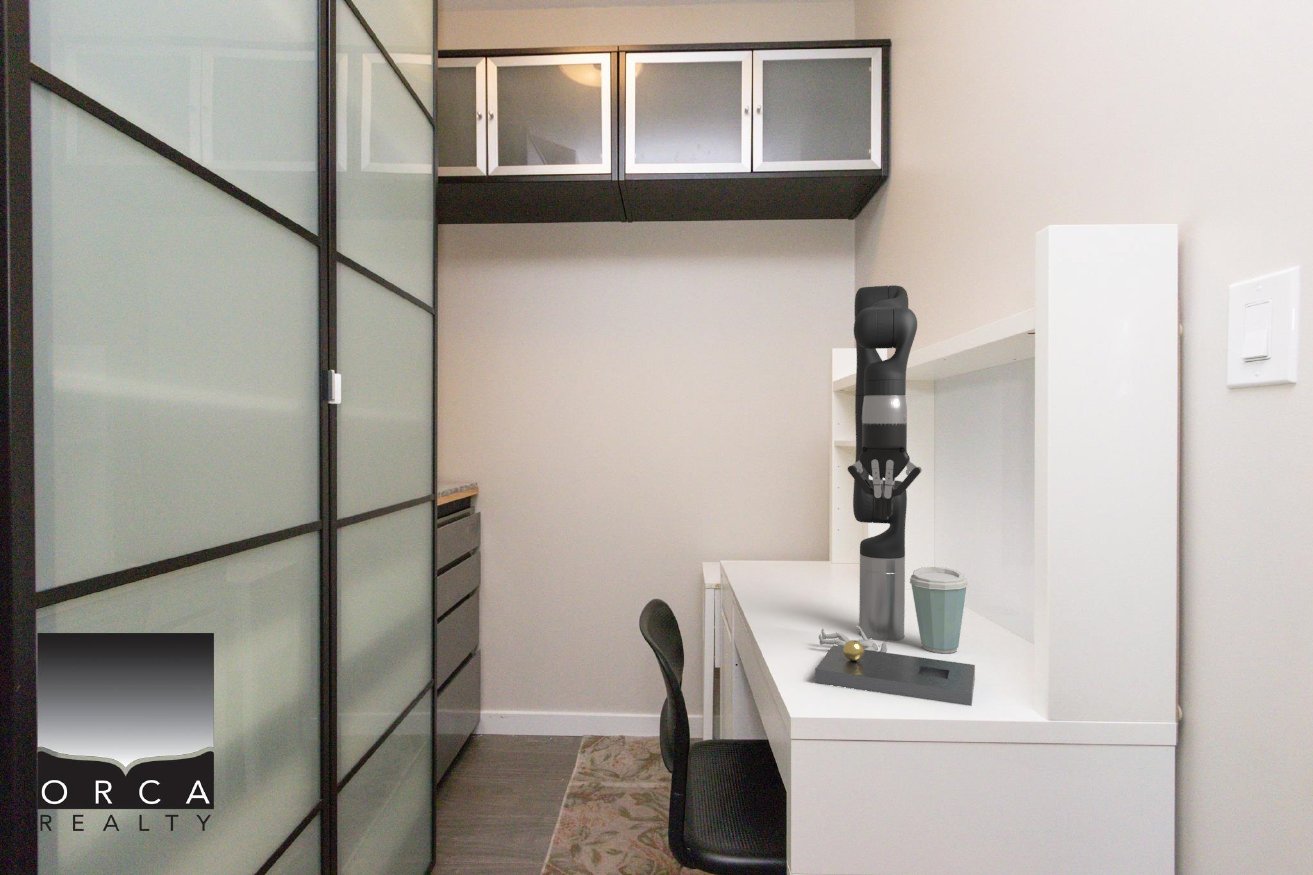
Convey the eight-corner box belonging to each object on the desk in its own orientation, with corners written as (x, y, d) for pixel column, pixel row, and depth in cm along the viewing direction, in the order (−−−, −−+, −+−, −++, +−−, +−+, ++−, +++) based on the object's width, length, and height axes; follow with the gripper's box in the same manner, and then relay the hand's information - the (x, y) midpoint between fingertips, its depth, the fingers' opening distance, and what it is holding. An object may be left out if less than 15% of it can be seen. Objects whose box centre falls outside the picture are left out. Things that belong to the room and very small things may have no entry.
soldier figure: (824, 621, 140) (886, 621, 135) (827, 644, 141) (890, 645, 136) (816, 638, 133) (881, 639, 128) (819, 662, 134) (885, 664, 129)
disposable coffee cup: (974, 659, 131) (975, 578, 131) (914, 655, 133) (914, 576, 132) (960, 641, 141) (960, 567, 141) (904, 638, 143) (904, 565, 143)
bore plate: (833, 658, 131) (833, 645, 131) (974, 679, 120) (974, 664, 120) (815, 683, 118) (815, 668, 118) (971, 709, 108) (971, 693, 108)
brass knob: (845, 656, 125) (845, 636, 125) (865, 659, 123) (865, 639, 123) (841, 662, 122) (841, 642, 122) (862, 665, 120) (862, 644, 120)
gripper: (926, 421, 125) (925, 518, 126) (850, 421, 131) (849, 514, 132) (921, 421, 119) (920, 524, 119) (842, 421, 125) (841, 519, 125)
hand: (883, 518), depth 126 cm, fingers closed
